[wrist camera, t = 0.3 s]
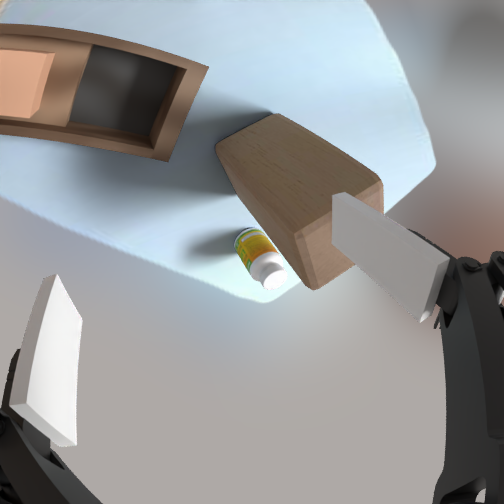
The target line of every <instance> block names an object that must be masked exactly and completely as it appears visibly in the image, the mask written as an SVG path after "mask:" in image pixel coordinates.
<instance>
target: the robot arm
mask: <svg viewBox="0 0 504 504" xmlns="http://www.w3.org/2000/svg"><path fill="white" fill-rule="evenodd" d="M332 244H333V245H334V246H335V247H336V248H337V249H338V250H340V251H341V252H342V253H343V254H344V255H345V256H347V257H348V258H349V259H350V260H351V261H352V262H353V263H355V264H356V265H357V266H358V267H359V268H360V269H361V270H363V271H364V272H365V273H366V274H367V275H368V276H369V277H371V278H372V279H373V280H374V281H375V282H376V283H377V284H378V285H379V286H380V287H382V288H383V289H384V290H385V291H386V292H387V293H388V294H389V295H390V296H391V297H392V298H394V299H395V300H396V301H397V302H398V303H399V304H400V305H401V306H402V307H403V308H404V309H405V310H406V311H407V312H409V313H410V314H411V315H412V316H413V317H414V318H415V319H416V320H417V321H418V322H419V323H420V322H422V321H423V320H425V319H426V318H428V317H429V316H431V315H432V313H433V310H434V307H435V304H437V305H438V306H440V307H441V308H440V311H439V314H438V316H437V319H436V321H435V324H434V329H436V327H437V325H438V323H439V322H440V328H439V329H441V335H442V343H443V353H444V364H445V379H446V411H447V412H446V446H445V447H446V448H445V461H444V468H443V472H442V474H441V475H440V477H439V479H438V481H437V484H436V486H435V491H434V497H433V503H432V504H504V306H503V305H502V304H501V301H502V298H503V296H504V252H501V251H495V252H493V253H492V255H491V257H490V260H489V263H484V264H481V263H480V262H478V261H477V260H475V259H473V258H470V257H461V258H458V259H456V258H454V257H453V256H452V255H450V254H449V253H447V252H446V251H444V250H443V249H442V248H440V247H439V246H437V245H436V244H433V243H432V242H431V241H430V240H428V239H425V237H424V236H422V235H421V234H419V233H417V232H415V231H412V230H410V229H407V228H404V227H403V226H401V225H399V224H398V223H396V222H395V221H393V220H392V219H390V218H388V217H387V216H385V215H384V214H382V213H380V212H379V211H377V210H375V209H374V208H372V207H370V206H368V205H367V204H365V203H363V202H362V201H360V200H358V199H356V198H355V197H353V196H351V195H349V194H348V193H346V192H343V193H338V194H334V195H332ZM81 328H82V318H81V316H80V315H79V313H78V311H77V310H76V308H75V306H74V304H73V303H72V301H71V299H70V297H69V295H68V294H67V292H66V290H65V288H64V286H63V284H62V282H61V281H60V279H59V277H58V275H57V274H55V275H52V276H49V277H46V278H43V281H42V284H41V287H40V289H39V292H38V295H37V298H36V300H35V303H34V306H33V309H32V312H31V315H30V318H29V321H28V325H27V328H26V332H25V335H24V338H23V342H22V346H21V349H17V351H16V353H15V354H14V356H13V358H12V359H11V363H10V367H9V373H8V375H7V382H6V385H5V390H4V395H3V400H2V406H1V408H0V504H102V503H101V502H100V501H99V500H98V499H97V498H96V497H95V496H94V495H93V494H92V493H91V492H90V491H89V490H88V489H87V488H86V487H85V486H84V485H83V484H82V482H81V481H80V480H79V479H78V478H77V477H76V476H75V475H74V474H73V473H72V472H71V470H70V469H69V468H68V467H67V466H66V465H65V463H64V462H63V461H62V460H61V458H60V457H59V456H58V455H57V454H56V452H55V451H53V450H52V449H51V448H50V440H51V441H53V442H54V443H55V444H57V445H58V446H60V447H65V446H75V445H77V434H76V433H77V432H76V396H77V373H78V358H79V347H80V337H81ZM485 488H486V494H485V502H484V503H481V502H475V500H476V497H477V495H478V493H479V492H480V491H481V490H483V489H485Z"/></svg>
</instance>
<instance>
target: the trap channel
mask: <svg viewBox="0 0 504 504" xmlns="http://www.w3.org/2000/svg"><path fill="white" fill-rule="evenodd" d="M0 48H18V49H30V50H40V51H48V52H56V53H55V56H54V59H53V62H52V65H51V68H50V71H49V74H48V77H47V81H46V84H45V88H44V91H43V95H42V99H41V103H40V107H39V109H38V110H37V111H36V112H35V113H34V114H33V115H32V116H31V117H30V118H21V117H12V116H2V115H0V134H2V135H12V136H21V137H29V138H37V139H44V140H51V141H58V142H65V143H71V144H77V145H83V146H89V147H95V148H101V149H106V150H112V151H117V152H122V153H127V154H132V155H137V156H142V157H147V158H151V159H156V160H161V161H165V162H169V159H170V156H171V154H172V151H173V149H174V146H175V143H176V141H177V138H178V136H179V133H180V131H181V129H182V126H183V124H184V121H185V119H186V117H187V114H188V112H189V110H190V107H191V105H192V103H193V101H194V98H195V96H196V94H197V92H198V90H199V88H200V85H201V83H202V81H203V79H204V77H205V75H206V73H207V71H208V69H209V67H208V66H206V65H203V64H200V63H197V62H195V61H192V60H189V59H186V58H183V57H180V56H177V55H174V54H171V53H168V52H165V51H162V50H158V49H155V48H151V47H148V46H144V45H141V44H137V43H133V42H129V41H125V40H121V39H117V38H113V37H108V36H104V35H99V34H94V33H88V32H83V31H77V30H70V29H64V28H56V27H48V26H38V25H25V24H0Z"/></svg>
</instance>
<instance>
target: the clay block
mask: <svg viewBox="0 0 504 504" xmlns="http://www.w3.org/2000/svg"><path fill="white" fill-rule="evenodd" d="M55 53H56V52H48V51H40V50H30V49H18V48H0V115H2V116H12V117H21V118H30V117H31V116H32V115H33V114H34V113H35V112H36V111H37V110H38V109H39V107H40V103H41V99H42V95H43V91H44V88H45V84H46V81H47V77H48V74H49V71H50V68H51V65H52V62H53V59H54V56H55Z"/></svg>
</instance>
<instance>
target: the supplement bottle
mask: <svg viewBox="0 0 504 504" xmlns="http://www.w3.org/2000/svg"><path fill="white" fill-rule="evenodd" d="M234 247H235V250H236V252H237V253H238V255H239V257H240V258H241V260H242V262H243V264H244V265H245V267H246V268H247V270H248V272H249V273H250V275H251V276H252V278H253V279H254V280H256V281H260V282H261V284H262V285H263V287H264V288H265V289H267V290H273V289H276V288H278V287H279V286H281V285H282V284H283V283H284V282H285V281H286V279H287V272H286V271H285V269H284V268H283V260H282V258H281V256H280V255H279V253H278V252H277V251H276V249H275V248H274V247H273V245H272V244H271V242H270V241H269V240H268V238H267V237H266V236H265V234H264V233H263V232H262V231H261V230H260V229H257V228H249V229H246V230H244V231H243V232H241V233H240V234H239V235H238V236H237V238H236V240H235V243H234Z"/></svg>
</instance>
